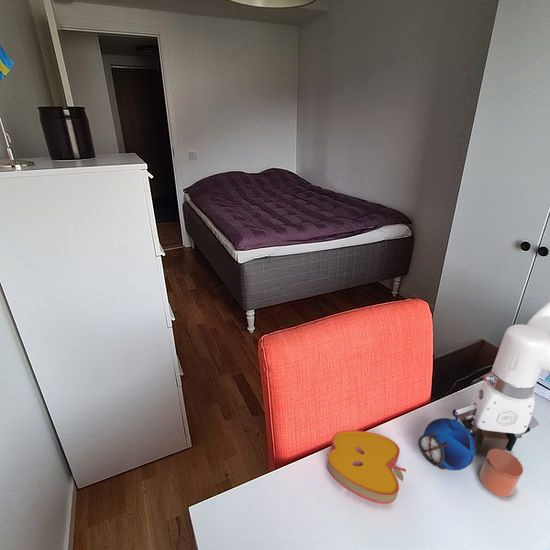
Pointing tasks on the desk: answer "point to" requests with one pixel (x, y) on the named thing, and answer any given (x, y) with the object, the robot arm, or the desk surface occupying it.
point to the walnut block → (489, 440)
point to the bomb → (447, 444)
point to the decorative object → (366, 465)
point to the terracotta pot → (500, 472)
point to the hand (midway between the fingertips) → (486, 443)
